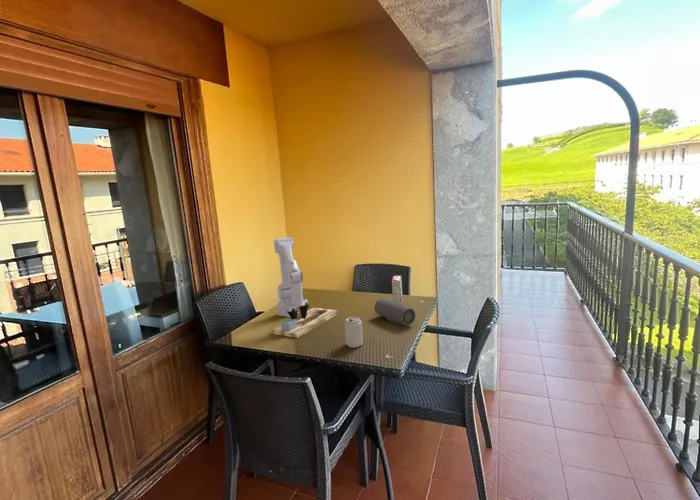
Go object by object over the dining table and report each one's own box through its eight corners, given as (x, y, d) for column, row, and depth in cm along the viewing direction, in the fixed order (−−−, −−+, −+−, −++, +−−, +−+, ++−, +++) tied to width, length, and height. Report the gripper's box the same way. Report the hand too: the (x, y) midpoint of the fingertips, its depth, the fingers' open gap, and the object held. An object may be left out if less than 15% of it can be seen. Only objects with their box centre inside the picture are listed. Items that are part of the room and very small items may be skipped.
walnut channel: (290, 323, 184) (290, 319, 184) (305, 315, 195) (305, 311, 195) (303, 325, 180) (303, 321, 180) (318, 317, 191) (318, 313, 191)
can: (345, 342, 161) (343, 316, 159) (362, 340, 162) (360, 315, 160) (346, 349, 154) (344, 322, 152) (364, 347, 154) (362, 320, 153)
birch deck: (271, 333, 178) (271, 329, 177) (314, 310, 208) (313, 307, 208) (297, 338, 170) (297, 333, 169) (337, 313, 200) (337, 310, 200)
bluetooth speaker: (416, 325, 176) (416, 305, 175) (402, 329, 172) (401, 309, 170) (388, 313, 196) (387, 295, 194) (374, 317, 191) (373, 299, 189)
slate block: (281, 330, 176) (280, 322, 175) (289, 325, 181) (288, 318, 180) (289, 331, 173) (289, 323, 173) (297, 327, 178) (296, 319, 178)
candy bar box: (394, 302, 214) (393, 275, 211) (402, 302, 213) (401, 275, 210) (392, 308, 203) (391, 280, 201) (401, 308, 202) (400, 280, 200)
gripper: (294, 299, 173) (296, 326, 175) (311, 291, 186) (314, 317, 188) (282, 298, 177) (285, 325, 179) (300, 290, 189) (303, 315, 191)
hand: (299, 320), depth 184 cm, fingers open, 7 cm apart
